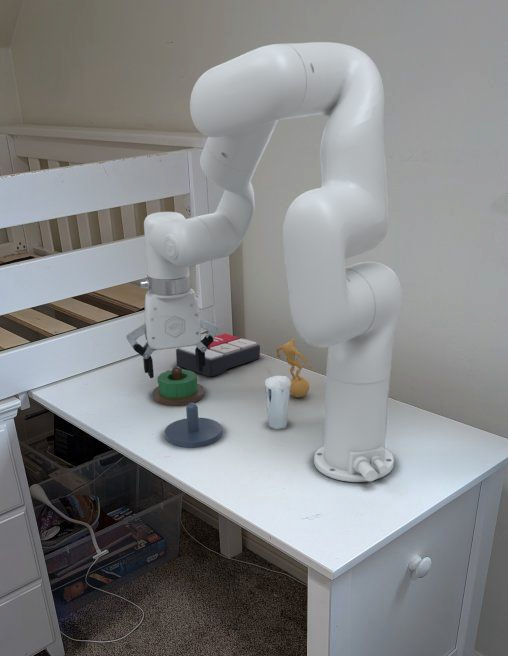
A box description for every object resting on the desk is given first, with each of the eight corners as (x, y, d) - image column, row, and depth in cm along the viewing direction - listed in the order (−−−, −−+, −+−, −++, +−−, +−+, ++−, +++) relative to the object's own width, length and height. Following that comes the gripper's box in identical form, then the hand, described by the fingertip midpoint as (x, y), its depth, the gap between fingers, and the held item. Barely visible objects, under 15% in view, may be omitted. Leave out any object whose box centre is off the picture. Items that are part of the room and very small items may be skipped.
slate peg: (228, 442, 127) (227, 410, 124) (171, 451, 125) (168, 419, 122) (214, 419, 136) (212, 388, 133) (160, 427, 134) (157, 396, 131)
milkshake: (280, 416, 136) (280, 364, 131) (295, 427, 132) (295, 374, 127) (258, 421, 134) (257, 369, 129) (272, 433, 130) (272, 379, 125)
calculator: (261, 341, 161) (210, 357, 151) (260, 360, 163) (210, 377, 153) (225, 331, 167) (174, 345, 158) (225, 349, 169) (175, 365, 160)
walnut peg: (209, 401, 143) (207, 372, 140) (158, 408, 141) (155, 379, 138) (197, 382, 151) (195, 354, 148) (149, 389, 149) (146, 361, 146)
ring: (201, 395, 143) (200, 380, 142) (163, 400, 142) (161, 385, 140) (192, 381, 149) (191, 367, 148) (156, 386, 148) (154, 372, 146)
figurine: (321, 399, 142) (323, 338, 136) (300, 408, 138) (300, 347, 133) (290, 387, 147) (290, 329, 141) (268, 396, 144) (267, 337, 138)
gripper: (124, 295, 130) (133, 385, 139) (220, 285, 134) (223, 374, 143) (119, 283, 136) (127, 371, 145) (210, 275, 140) (214, 360, 149)
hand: (175, 372), depth 144 cm, fingers open, 9 cm apart
